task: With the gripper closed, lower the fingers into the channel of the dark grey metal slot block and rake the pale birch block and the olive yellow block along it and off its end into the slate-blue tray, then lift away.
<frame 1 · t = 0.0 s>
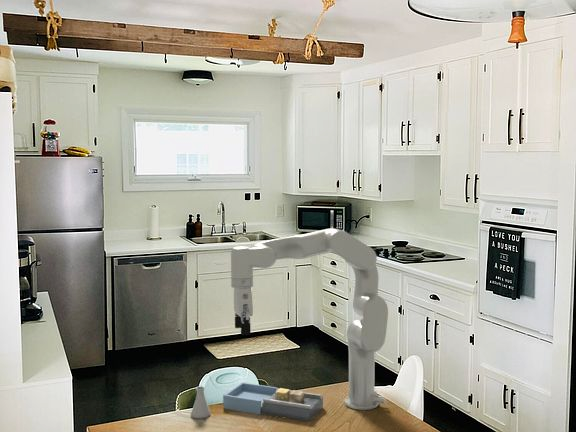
hand: (242, 331, 212), 31 cm above the table, tool pointing down, fingers open, 9 cm apart
slot block: (292, 410, 221), on the table
flask: (200, 415, 218), on the table
birch chip: (296, 400, 220), point 4 cm above the table, touching slot block
olive yellow block: (282, 398, 222), point 4 cm above the table, touching slot block
tray: (250, 404, 228), on the table
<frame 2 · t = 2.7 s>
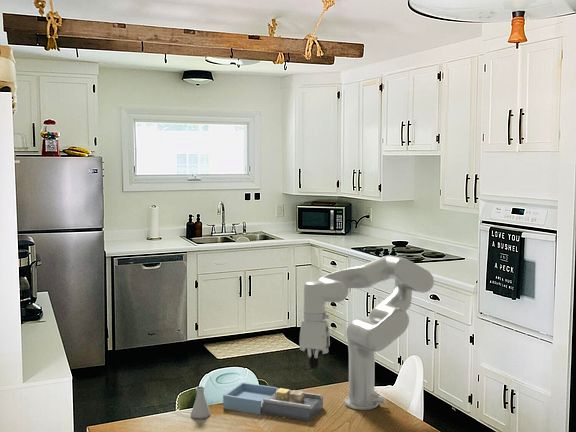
hand: (314, 367, 216), 17 cm above the table, tool pointing down, fingers closed
nothing on the table moved.
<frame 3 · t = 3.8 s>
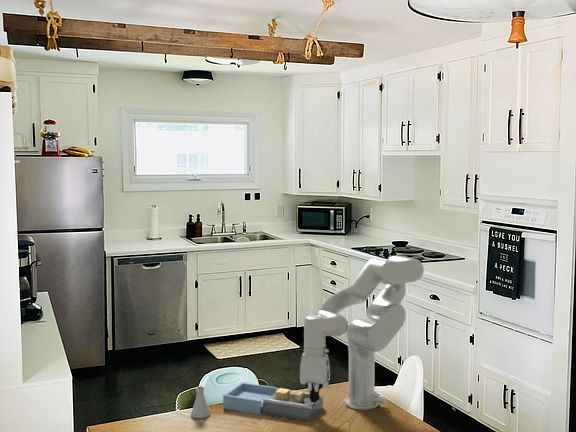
hand: (314, 401, 217), 5 cm above the table, tool pointing down, fingers closed
nothing on the table moved.
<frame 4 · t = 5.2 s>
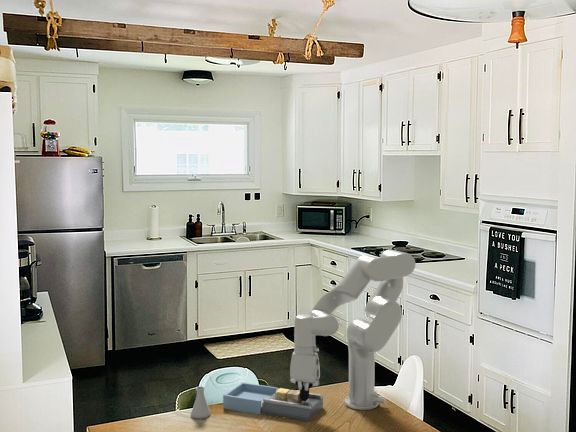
hand: (304, 399, 219), 5 cm above the table, tool pointing down, fingers closed
birch chip: (294, 400, 221), point 4 cm above the table, touching gripper, slot block
everything else where it was.
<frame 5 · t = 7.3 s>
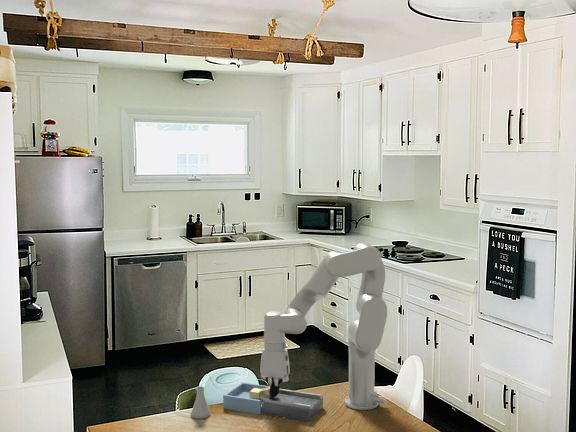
hand: (274, 395, 224), 5 cm above the table, tool pointing down, fingers closed
birch chip: (268, 396, 225), point 4 cm above the table, tilted 19°, touching olive yellow block, gripper
olive yellow block: (256, 398, 227), point 2 cm above the table, touching birch chip
everything else where it was.
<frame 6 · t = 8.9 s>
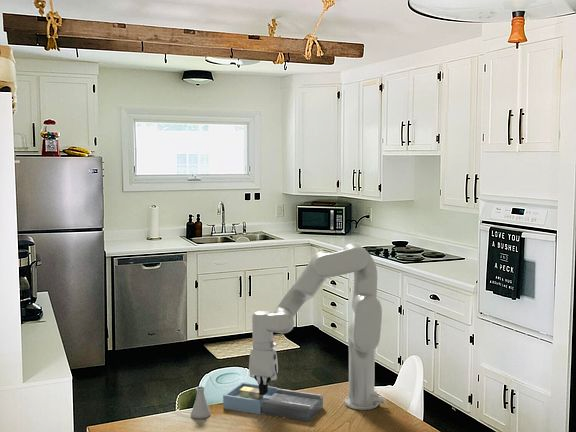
hand: (263, 393, 225), 5 cm above the table, tool pointing down, fingers closed
birch chip: (255, 398, 227), point 2 cm above the table, touching olive yellow block, gripper, tray
olive yellow block: (246, 396, 229), point 2 cm above the table, touching birch chip, tray
everything else where it was.
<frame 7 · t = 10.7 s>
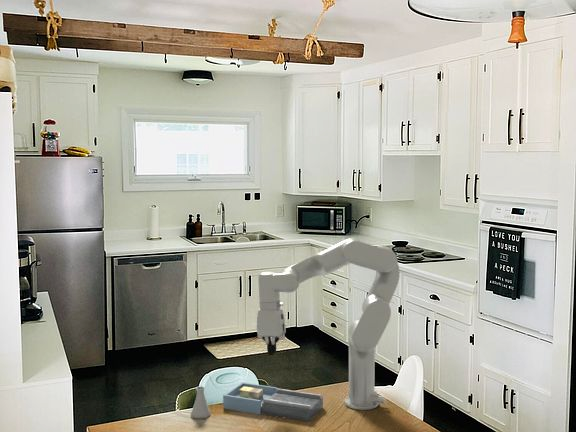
hand: (272, 354, 227), 19 cm above the table, tool pointing down, fingers closed
birch chip: (255, 398, 227), point 2 cm above the table, touching tray
olive yellow block: (246, 396, 229), point 2 cm above the table, touching tray
everything else where it was.
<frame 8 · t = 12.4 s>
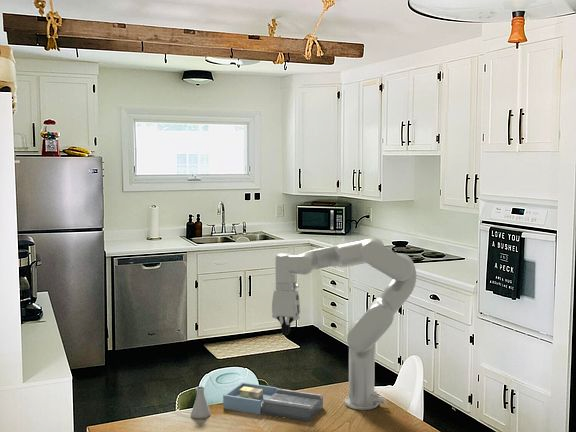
hand: (285, 334, 231), 25 cm above the table, tool pointing down, fingers closed
nothing on the table moved.
at the end: birch chip inside the target area (2.0 cm from its centre), point 2.4 cm above the table; olive yellow block inside the target area (2.1 cm from its centre), point 2.4 cm above the table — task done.
